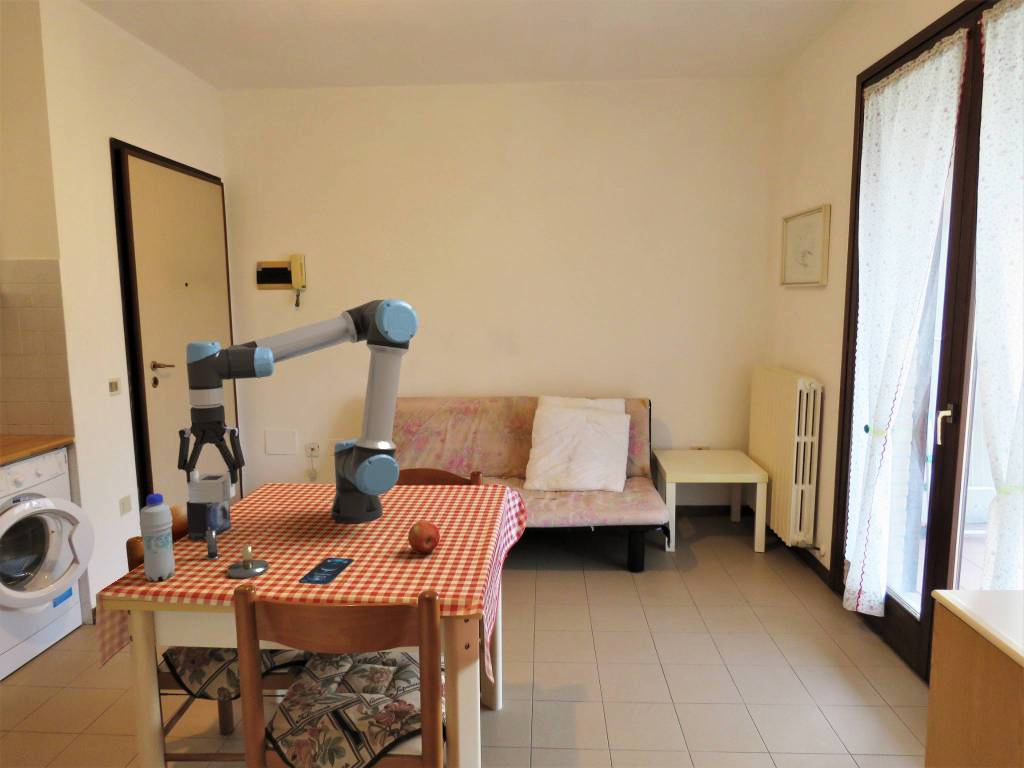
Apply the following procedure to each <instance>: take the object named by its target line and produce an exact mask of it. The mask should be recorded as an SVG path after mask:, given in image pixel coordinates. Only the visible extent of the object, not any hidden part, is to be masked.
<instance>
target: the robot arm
mask: <svg viewBox="0 0 1024 768" xmlns="http://www.w3.org/2000/svg"><path fill="white" fill-rule="evenodd" d="M418 327H419V320H418V315H417V312H416V311H415V310H414V308H413V307H412V305H410V304H408V302H406V301H403V300H401V299H400V300H399V299H396V298H393V299H392V298H388V299H376V300H375V299H374V300H372V301H369V302H365V303H364V304H361V305H358V306H356V307H353V308H350V309H347V310H344V311H342V312H341V314H340V315H339V316H336V317H332V318H328V319H325V320H321V321H319V322H315V323H311V324H308V325H307V324H306V325H303V326H300V327H297V328H294V329H290V330H287V331H283V332H279V333H276V334H273V335H269V336H268V335H267V336H265V337H262V338H258V339H256V340H255V339H253V340H252V341H248V342H245V343H241V344H232V345H230V346H228V347H226V348H222V347H221V344H220V342H218V341H193V342H189V343H188V344H187V345H186V348H185V349H186V361H185V363H186V370H187V371H186V373H187V380H188V393H189V394H188V398H189V405H190V406H191V408H190V409H189V411H190V422H191V426H190V427H189V428H185V427H184V428H181V429H180V430H179V431H178V435H179V439H180V440H179V448H178V450H179V451H178V460H177V469H178V470H179V471H180V470H181V471H185V473H186V482H187V484H188V482H190V481H192V480H194V479H195V478H197V477H199V476H200V475H199V469H197V468H196V465H197V463H198V460H199V458H200V455H201V452H202V450H203V447H204V446H205V445H206V444H209V445H210V444H211V445H214V446H215V447H216V448H217V450H218V451H219V453H220V455H221V458H222V459H223V461H224V463H225V465H226V466H227V469H228V470H227V471H225V474H226V480H227V495H228V498H229V499H231V498H233V497H235V495H236V493H235V483H236V484H237V483H238V481H239V478H238V476H239V474H238V469H239V470H240V469H241V468H243V467H245V465H246V463H245V458H244V454H243V450H242V447H241V442H240V439H239V433H240V429H239V427H238V426H237V427H234V428H233V427H228V426H227V423H226V413H225V406H224V405H223V403H225V400H224V388H223V386H224V384H223V381H224V380H239V379H243V380H244V379H261V378H266V377H267V378H268V377H271V376H272V375H273V374H274V369H275V368H274V367H275V364H277V363H281V362H284V361H287V360H291V359H295V358H298V357H300V356H304V355H307V354H311V353H314V352H317V351H321V350H325V349H327V348H331V347H334V346H337V345H340V344H344V343H347V342H349V343H352V344H356V343H360V342H362V341H363V342H364V341H366V347H367V348H368V350H369V351H370V357H369V358H370V359H369V367H368V374H367V383H366V389H365V390H366V391H365V399H364V406H363V415H362V422H361V430H360V436H359V438H358V439H357V438H356V439H348V440H342V441H338V442H336V443H335V444H334V447H333V448H334V449H333V450H334V452H333V455H334V470H335V471H334V472H335V495H334V498H333V502H332V505H331V508H330V516H331V517H330V519H331V520H333V521H334V522H336V523H342V524H360V523H366V522H371V521H374V520H377V519H379V518H381V517H382V515H383V514H384V511H383V509H384V508H383V504H382V502H381V498H380V495H384V494H386V493H388V492H389V491H391V489H393V487H395V485H396V484H397V482H398V480H399V476H400V467H399V464H398V463H397V461H396V451H397V445H396V444H395V443H394V442H393V440H392V439H393V438H392V437H393V431H394V430H393V429H394V423H395V415H396V407H397V400H398V399H397V398H398V391H399V382H400V376H401V368H402V360H403V356H404V355H405V354H406V353H408V352H409V348H410V341H411V339H413V337H414V336H415V335H416V333H417V331H418ZM226 433H227V436H228V437H229V443H230V447H231V450H230V449H229V446H228V445H227V441H226V439H225V435H226ZM192 435H193V437H195V440H194V443H193V447H192V450H191V453H189V452H190V442H191V436H192ZM231 451H232V452H231ZM189 454H190V455H189Z"/></svg>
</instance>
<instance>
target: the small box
mask: <svg viewBox="0 0 1024 768" xmlns="http://www.w3.org/2000/svg"><path fill="white" fill-rule="evenodd" d="M230 502H231V501H230V498H228V499H227V500H226V501H224V502H204V503H190V500H188V501H186V502H185V503H186V518H187V520H186V521H187V539H188V540H198V541H207V536H206V531H207V530H210V529H215V530H216V537H217V536H218V535H220V534H223V533H224V532H227V531H228V530H230V529H232V527H231V525H232V522H231V507H230V506H231V505H230Z"/></svg>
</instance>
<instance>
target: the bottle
mask: <svg viewBox="0 0 1024 768" xmlns="http://www.w3.org/2000/svg"><path fill="white" fill-rule="evenodd" d="M145 500H146V505H145V506H144V507H142V508H141V509H140V513H139V515H140V517H139V526H140V531H141V532H142V546H143V560H144V561H143V565H144V566H143V570H144V574H145V577H146V579H147V580H148V581H149V582H150V581H154V582H159V578H160V577H161V578H162V580H163V581H165V580H166V579H168V578H172V577H173V575H174V574H175V569H176V562H175V555H174V550H173V548H174V547H173V534H172V527H173V519H174V518H173V516H172V515H173V514H172V511H171V507H170V505H169V504H166V503H164V497H163V494H161V493H151V494H148V495H147V496H146V499H145Z"/></svg>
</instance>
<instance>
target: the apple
mask: <svg viewBox="0 0 1024 768" xmlns="http://www.w3.org/2000/svg"><path fill="white" fill-rule="evenodd" d="M407 536H408V537H407V538H408V539H407V540H408V544H409V545H410V547H411V548H412V550H413V551H414V552H416V553H418V554H421V555H424V554H425V555H426V554H430V553H431V552H432V551H434V550H435V549H436V548H437V547H438V545H439V544H440V540H441V535H440V531H439V529H438V527H437V526H436V524H435V523H433V522H431V521H429V520H425V519H424V520H423V519H421V520H418V521H417V522H415V523H413V524H412V526H411V527H410V528H409V531H408V535H407Z"/></svg>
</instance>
